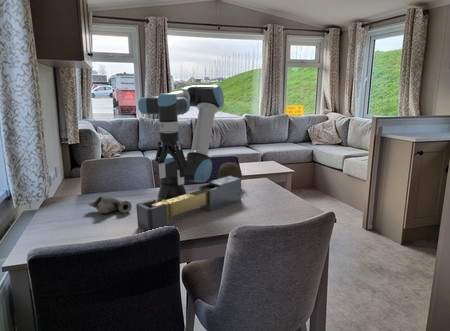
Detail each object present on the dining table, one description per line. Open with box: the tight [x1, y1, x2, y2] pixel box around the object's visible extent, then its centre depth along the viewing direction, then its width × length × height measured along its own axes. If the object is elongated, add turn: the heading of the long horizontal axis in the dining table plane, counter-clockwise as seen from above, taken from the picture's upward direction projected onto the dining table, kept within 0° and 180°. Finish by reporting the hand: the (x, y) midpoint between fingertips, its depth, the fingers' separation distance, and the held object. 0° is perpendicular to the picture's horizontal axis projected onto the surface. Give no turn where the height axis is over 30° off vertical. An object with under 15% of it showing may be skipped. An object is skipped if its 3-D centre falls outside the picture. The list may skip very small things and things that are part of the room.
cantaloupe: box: [217, 161, 243, 180], centre depth 186 cm, size 14×14×15 cm
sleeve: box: [198, 176, 242, 212], centre depth 162 cm, size 8×21×12 cm, turn 134°
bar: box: [151, 188, 210, 219], centre depth 146 cm, size 6×32×6 cm, turn 134°
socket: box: [135, 198, 169, 232], centre depth 135 cm, size 10×8×10 cm
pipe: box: [88, 195, 133, 214], centre depth 153 cm, size 16×9×15 cm
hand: (171, 181), depth 139 cm, fingers open, 13 cm apart
